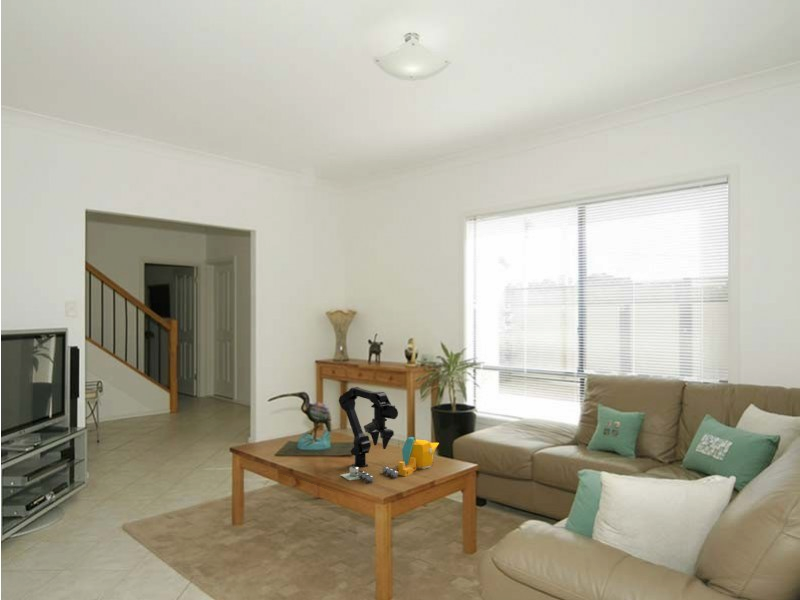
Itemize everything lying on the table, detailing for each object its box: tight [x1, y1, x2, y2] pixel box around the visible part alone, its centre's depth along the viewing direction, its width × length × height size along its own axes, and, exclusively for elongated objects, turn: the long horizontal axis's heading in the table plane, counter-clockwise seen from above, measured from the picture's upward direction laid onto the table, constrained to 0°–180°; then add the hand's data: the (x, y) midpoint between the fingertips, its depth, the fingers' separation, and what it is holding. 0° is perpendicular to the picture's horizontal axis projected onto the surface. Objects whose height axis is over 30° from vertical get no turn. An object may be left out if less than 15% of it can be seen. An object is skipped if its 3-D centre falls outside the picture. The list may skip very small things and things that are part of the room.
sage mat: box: [340, 472, 361, 482], centre depth 278 cm, size 10×10×1 cm
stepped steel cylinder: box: [349, 465, 359, 477], centre depth 278 cm, size 4×4×4 cm
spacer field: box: [358, 466, 398, 484], centre depth 276 cm, size 11×17×3 cm, turn 122°
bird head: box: [401, 436, 440, 470], centre depth 299 cm, size 14×26×16 cm, turn 133°
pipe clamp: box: [397, 457, 417, 477], centre depth 284 cm, size 12×4×6 cm, turn 144°
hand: (379, 447), depth 288 cm, fingers open, 9 cm apart
